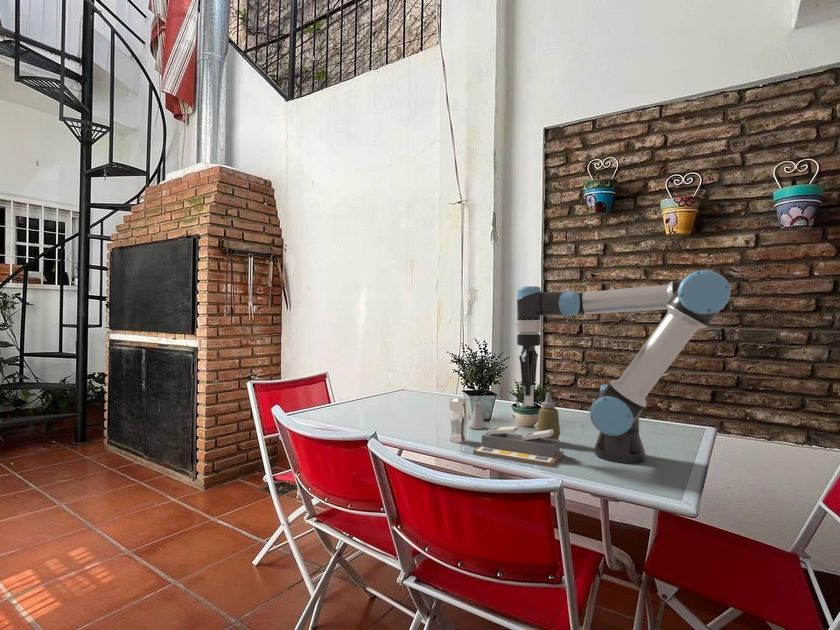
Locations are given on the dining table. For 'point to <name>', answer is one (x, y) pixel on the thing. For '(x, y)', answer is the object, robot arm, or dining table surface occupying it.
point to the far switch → (503, 430)
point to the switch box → (521, 448)
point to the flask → (477, 418)
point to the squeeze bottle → (549, 418)
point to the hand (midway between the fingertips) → (528, 404)
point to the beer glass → (458, 419)
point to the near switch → (538, 434)
